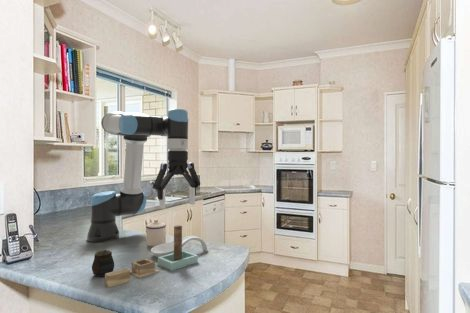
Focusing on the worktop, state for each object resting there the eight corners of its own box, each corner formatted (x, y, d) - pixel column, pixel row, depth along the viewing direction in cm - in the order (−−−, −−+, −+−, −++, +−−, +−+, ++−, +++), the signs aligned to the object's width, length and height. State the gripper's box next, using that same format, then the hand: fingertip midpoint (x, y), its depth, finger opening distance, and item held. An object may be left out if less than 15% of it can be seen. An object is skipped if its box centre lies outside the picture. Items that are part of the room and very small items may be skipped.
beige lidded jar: (169, 244, 146) (169, 219, 146) (152, 248, 140) (152, 222, 140) (156, 239, 155) (156, 215, 155) (139, 242, 148) (139, 218, 148)
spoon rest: (154, 263, 121) (154, 245, 121) (148, 254, 132) (148, 237, 132) (210, 254, 132) (210, 237, 132) (201, 247, 142) (201, 231, 142)
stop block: (105, 286, 100) (105, 273, 100) (125, 279, 105) (125, 268, 105) (109, 289, 98) (109, 276, 98) (130, 282, 103) (130, 270, 103)
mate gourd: (110, 269, 114) (110, 242, 114) (118, 275, 109) (118, 247, 108) (89, 274, 109) (89, 246, 109) (96, 281, 104) (96, 251, 104)
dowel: (176, 264, 117) (176, 227, 117) (172, 262, 119) (172, 226, 119) (183, 262, 119) (183, 226, 119) (178, 260, 121) (178, 225, 121)
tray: (157, 266, 118) (157, 257, 118) (183, 258, 126) (183, 250, 126) (171, 272, 111) (171, 263, 111) (197, 263, 120) (197, 255, 120)
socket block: (127, 273, 111) (127, 262, 110) (147, 267, 116) (147, 256, 116) (138, 279, 105) (138, 267, 105) (159, 273, 111) (159, 262, 111)
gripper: (154, 150, 107) (154, 211, 107) (209, 150, 125) (209, 203, 125) (143, 150, 112) (143, 208, 112) (197, 150, 130) (197, 201, 130)
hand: (177, 206), depth 119 cm, fingers open, 13 cm apart
